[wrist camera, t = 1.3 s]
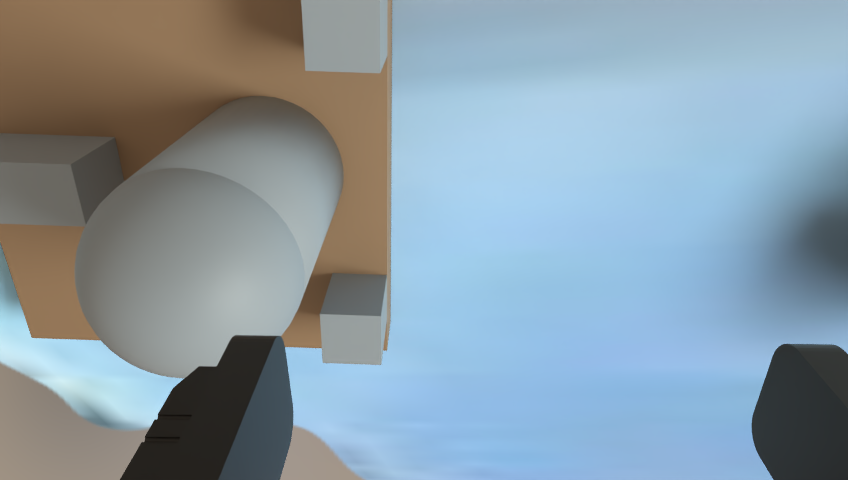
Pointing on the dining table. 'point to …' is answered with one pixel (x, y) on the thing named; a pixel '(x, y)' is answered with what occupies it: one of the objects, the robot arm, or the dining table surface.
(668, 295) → the dining table surface
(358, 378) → the dining table surface
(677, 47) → the dining table surface
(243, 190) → the wooden peg board
